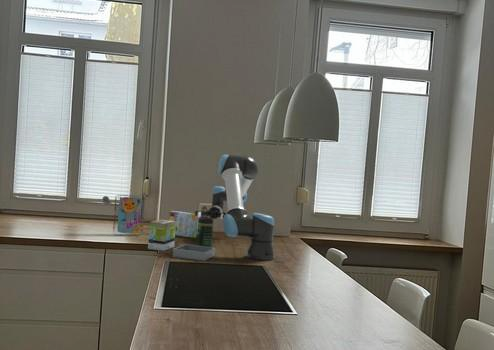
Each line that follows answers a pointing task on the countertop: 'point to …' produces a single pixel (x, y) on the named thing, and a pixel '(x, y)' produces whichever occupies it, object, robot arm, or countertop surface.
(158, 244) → the tea box
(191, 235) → the snack box
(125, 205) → the box
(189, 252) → the tray
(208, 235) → the coffee jar
